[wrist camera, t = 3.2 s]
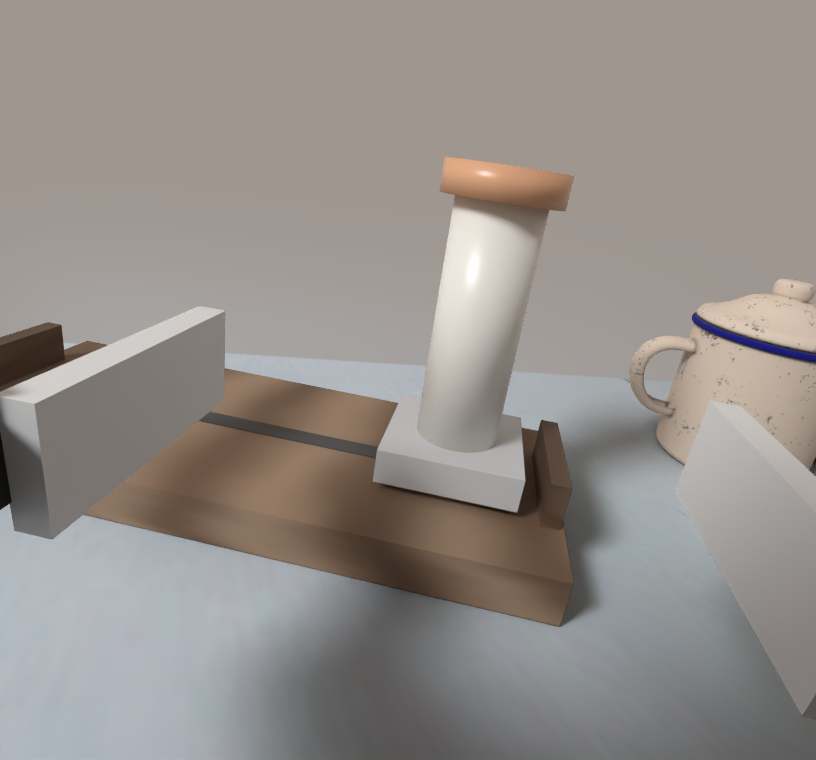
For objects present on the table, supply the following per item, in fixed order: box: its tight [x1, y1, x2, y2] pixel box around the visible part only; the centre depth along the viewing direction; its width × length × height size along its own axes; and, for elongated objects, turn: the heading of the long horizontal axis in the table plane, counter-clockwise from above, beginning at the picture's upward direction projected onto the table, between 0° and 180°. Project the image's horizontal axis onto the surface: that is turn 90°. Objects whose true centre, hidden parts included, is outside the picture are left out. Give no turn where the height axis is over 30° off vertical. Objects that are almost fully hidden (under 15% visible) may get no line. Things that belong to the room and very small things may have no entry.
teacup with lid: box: [630, 279, 816, 470], centre depth 33 cm, size 12×9×12 cm
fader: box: [373, 157, 574, 512], centre depth 22 cm, size 6×6×13 cm
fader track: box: [0, 323, 574, 626], centre depth 26 cm, size 28×12×4 cm, turn 81°
